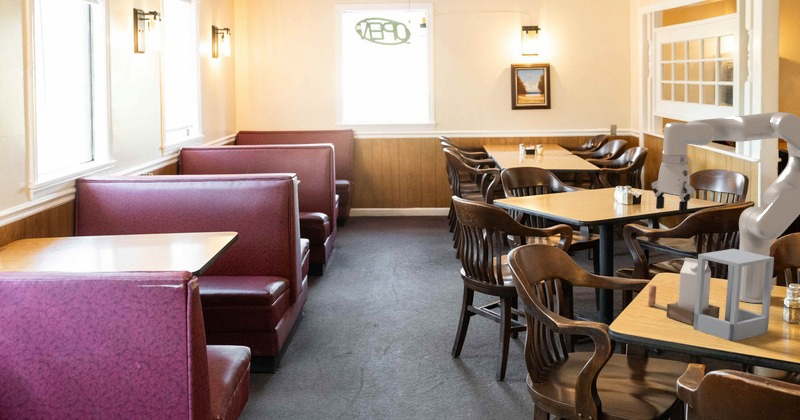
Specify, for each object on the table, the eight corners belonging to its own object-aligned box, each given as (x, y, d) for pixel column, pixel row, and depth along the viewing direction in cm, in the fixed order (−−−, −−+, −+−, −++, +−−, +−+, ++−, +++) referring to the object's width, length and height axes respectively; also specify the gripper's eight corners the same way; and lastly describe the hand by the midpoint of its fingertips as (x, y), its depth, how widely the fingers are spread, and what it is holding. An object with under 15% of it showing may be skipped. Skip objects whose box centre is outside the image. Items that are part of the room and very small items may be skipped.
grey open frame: (727, 320, 264) (733, 248, 260) (767, 333, 252) (774, 257, 248) (693, 328, 256) (698, 254, 252) (732, 341, 244) (739, 263, 240)
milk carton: (685, 313, 270) (689, 255, 267) (707, 318, 266) (712, 259, 263) (677, 318, 265) (680, 259, 262) (699, 323, 261) (703, 262, 257)
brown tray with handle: (661, 302, 283) (662, 283, 282) (718, 319, 264) (720, 299, 263) (636, 307, 277) (637, 287, 276) (693, 325, 258) (695, 304, 257)
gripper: (703, 161, 276) (699, 213, 279) (661, 156, 291) (658, 206, 294) (687, 163, 272) (684, 215, 275) (646, 158, 287) (643, 207, 290)
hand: (671, 210), depth 284 cm, fingers open, 9 cm apart
